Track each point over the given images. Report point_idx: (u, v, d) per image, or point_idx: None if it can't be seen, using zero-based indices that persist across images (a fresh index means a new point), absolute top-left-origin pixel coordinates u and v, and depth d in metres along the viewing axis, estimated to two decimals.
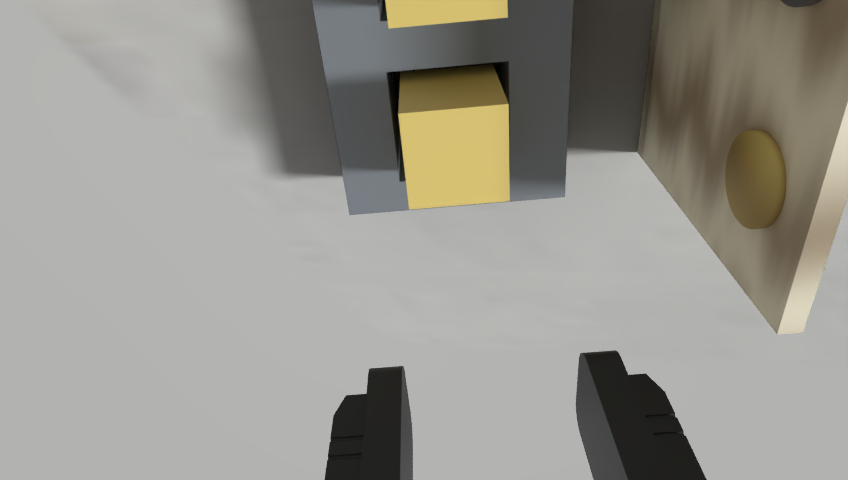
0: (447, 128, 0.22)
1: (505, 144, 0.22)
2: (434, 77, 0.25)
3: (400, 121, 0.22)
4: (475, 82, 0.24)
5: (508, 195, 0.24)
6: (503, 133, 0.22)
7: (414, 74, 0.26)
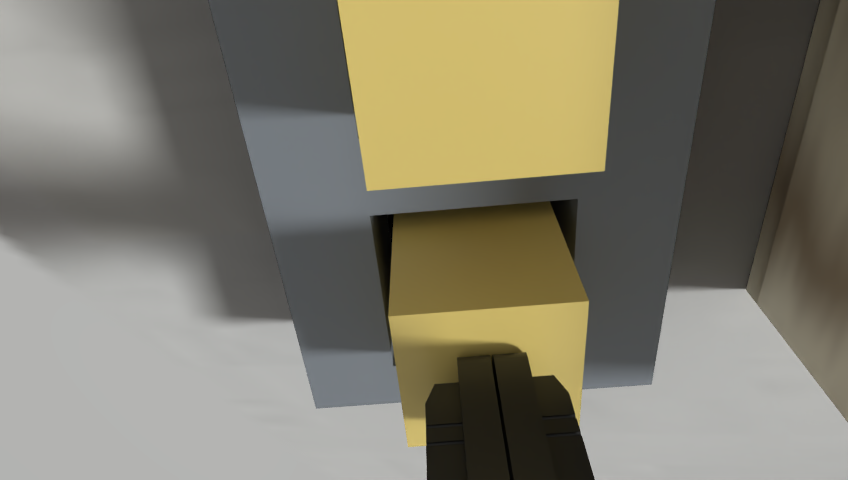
0: (477, 337, 0.12)
1: (578, 359, 0.13)
2: (449, 213, 0.15)
3: (392, 328, 0.12)
4: (520, 231, 0.14)
5: None
6: (576, 344, 0.12)
7: None
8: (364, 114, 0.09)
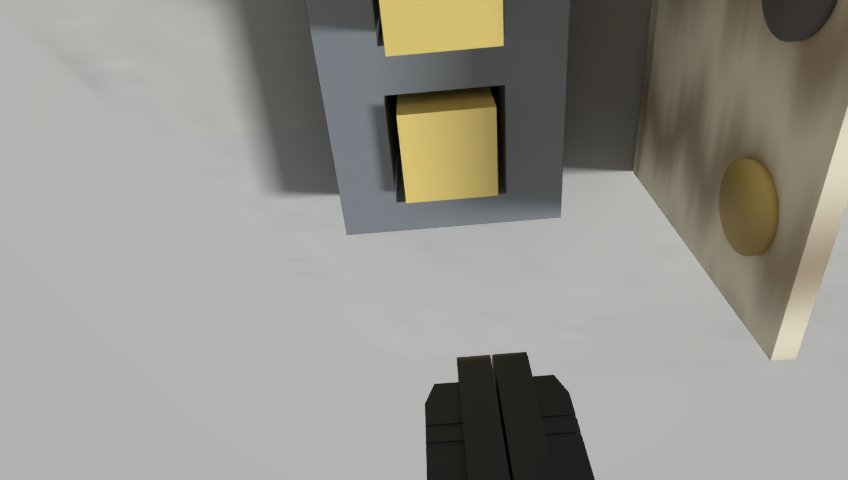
0: (441, 129, 0.24)
1: (493, 143, 0.25)
2: None
3: (398, 122, 0.24)
4: None
5: (497, 190, 0.26)
6: (492, 133, 0.24)
7: None
8: (385, 14, 0.20)
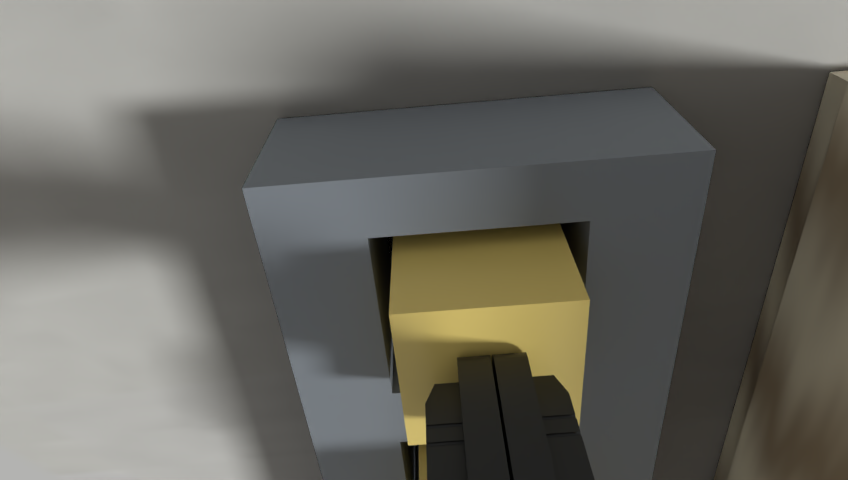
0: None
1: None
2: None
3: None
4: None
5: None
6: None
7: None
8: None
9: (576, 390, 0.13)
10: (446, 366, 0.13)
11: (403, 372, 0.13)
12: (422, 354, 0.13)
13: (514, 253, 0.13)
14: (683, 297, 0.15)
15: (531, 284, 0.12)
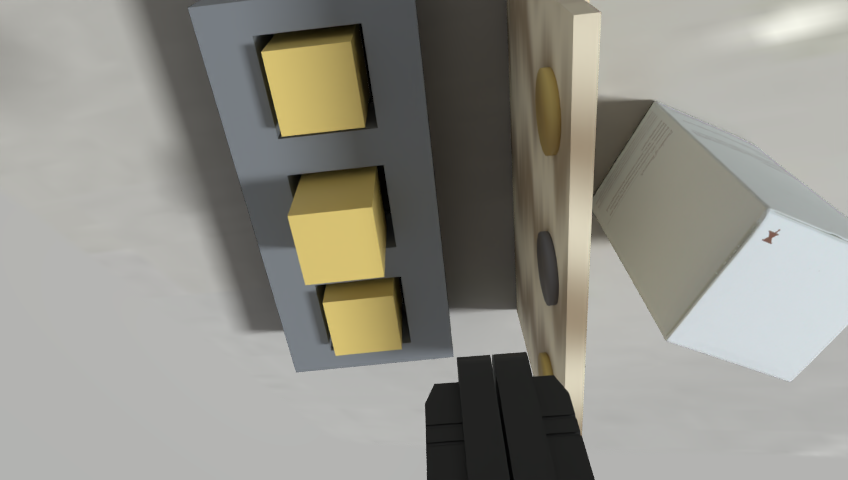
0: (355, 310, 0.34)
1: (394, 317, 0.35)
2: None
3: (324, 307, 0.34)
4: None
5: (400, 346, 0.36)
6: (392, 311, 0.34)
7: None
8: (302, 262, 0.29)
9: (357, 97, 0.28)
10: (292, 83, 0.27)
11: (272, 87, 0.27)
12: (279, 75, 0.27)
13: (327, 35, 0.28)
14: (420, 70, 0.28)
15: (328, 40, 0.27)
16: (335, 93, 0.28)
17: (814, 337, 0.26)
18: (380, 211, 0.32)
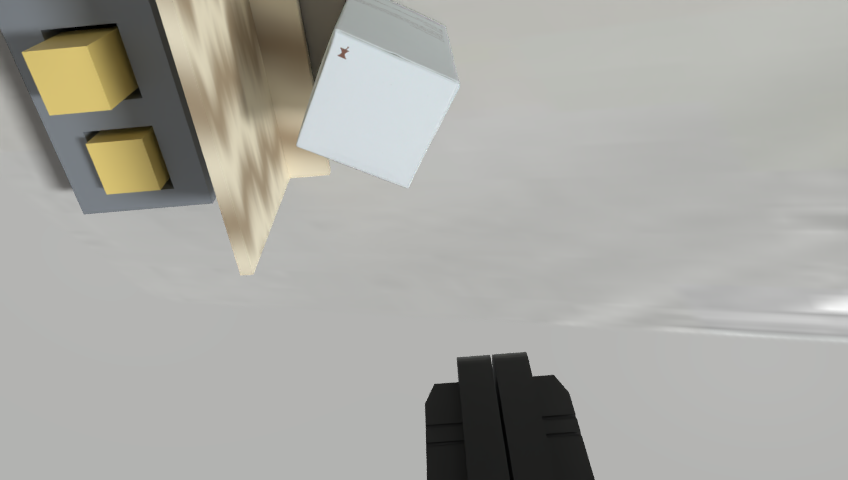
0: (114, 151, 0.42)
1: (147, 159, 0.42)
2: None
3: (87, 147, 0.42)
4: None
5: (158, 186, 0.44)
6: (144, 154, 0.42)
7: None
8: (42, 94, 0.37)
9: None
10: None
11: None
12: None
13: None
14: None
15: None
16: None
17: (410, 146, 0.34)
18: (119, 63, 0.39)
